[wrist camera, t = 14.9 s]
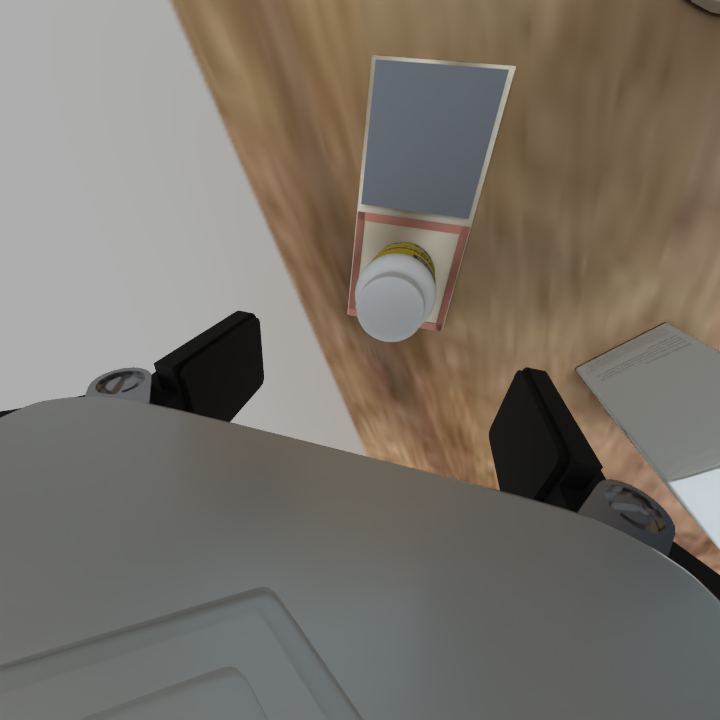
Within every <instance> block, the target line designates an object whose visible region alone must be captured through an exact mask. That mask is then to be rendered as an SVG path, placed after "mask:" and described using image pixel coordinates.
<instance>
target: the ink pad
mask: <svg viewBox="0 0 720 720" xmlns="http://www.w3.org/2000/svg"><path fill="white" fill-rule="evenodd" d="M508 72H509V70H508V69H495V68H482V67H469V66H456V65H443V64H430V63H418V62H405V61H392V60H379V59H376V61H375V71H374V81H373V91H372V101H371V111H370V121H369V131H368V141H367V151H366V161H365V171H364V181H363V191H362V201H361V204H364V205H372V206H379V207H386V208H393V209H401V210H408V211H415V212H423V213H430V214H437V215H444V216H452V217H459V218H466V219H469V216H470V212H471V208H472V205H473V201H474V197H475V194H476V190H477V186H478V183H479V179H480V175H481V171H482V168H483V164H484V160H485V157H486V153H487V149H488V146H489V142H490V138H491V135H492V131H493V127H494V123H495V120H496V116H497V112H498V109H499V105H500V101H501V98H502V94H503V90H504V86H505V83H506V79H507V75H508Z"/></svg>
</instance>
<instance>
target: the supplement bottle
mask: <svg viewBox="0 0 720 720" xmlns="http://www.w3.org/2000/svg"><path fill="white" fill-rule="evenodd" d="M355 301H356V311H357V317H358V320H359V322H360V324H361V326H362V328H363V329H364V330H365V331H366V332H367V333H368V334H369V335H371V336H372V337H374V338H376V339H378V340H380V341H385V342H398V341H401V340H404V339H407V338H408V337H410V336H412V335H413V334H414V333H415V332H416V331H417V330H418V329H419V327H420V326H421V325H422V324H423V323H424V322H425V321H426V320H427V319H428V318H429V316H430V314H431V312H432V310H433V308H434V305H435V301H436V278H435V268H434V264H433V261H432V259H431V257H430V256H429V254H428V253H427V252H426V251H425V250H424V249H423V248H422V247H420V246H419V245H417V244H414V243H411V242H396V243H393V244H390V245H388V246H387V247H385V248H384V249H382V250H381V251H380V252H379V253H378V254H377V255H376V256H375V257H374V258H373V260H372V261H371V262H370V263H369V264H368V265H367V266H366V267H365V268H364V270H363V271H362V273H361V274H360V276H359V278H358V281H357V284H356V289H355Z"/></svg>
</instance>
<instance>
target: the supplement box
mask: <svg viewBox="0 0 720 720" xmlns="http://www.w3.org/2000/svg"><path fill="white" fill-rule="evenodd" d="M576 371H577V372H578V374H579V375H580V376H581V378H582V379H583V380H584V381H585V383H586V384H587V385H588V387H589V388H590V389H591V391H592V392H593V393H594V395H595V396H596V397H597V399H598V400H599V401H600V403H601V404H602V405H603V407H604V408H605V409H606V411H607V412H608V413H609V414H610V416H611V417H612V418H613V420H614V421H615V422H616V423H617V425H618V426H619V427H620V429H621V430H622V431H623V433H624V434H625V435H626V436H627V438H628V439H629V440H630V441H631V443H632V444H633V445H634V446H635V448H636V449H637V450H638V451H639V453H640V454H641V455H642V456H643V458H644V459H645V460H646V461H647V463H648V464H649V465H650V466H651V468H652V469H653V470H654V472H655V473H656V474H657V475H658V477H659V478H660V479H661V480H662V482H663V483H664V484H665V485H666V486H667V488H668V489H669V490H670V491H671V493H672V494H673V495H674V496H675V498H676V499H677V500H678V501H679V502H680V504H681V505H682V506H683V507H684V509H685V510H686V511H687V512H688V513H689V515H690V516H691V517H692V518H693V519H694V521H695V522H696V523H697V524H698V525H699V526H700V528H701V529H702V530H703V531H704V532H705V533H706V535H707V536H708V537H709V538H710V539H711V540H712V541H713V543H714V544H715V545H716V546H717V547H718V548H719V549H720V352H719V351H717V350H715V349H713V348H711V347H710V346H708V345H706V344H704V343H702V342H701V341H699V340H697V339H695V338H693V337H692V336H690V335H688V334H686V333H685V332H683V331H681V330H679V329H677V328H675V327H674V326H672V325H670V324H669V323H664V324H662V325H660V326H658V327H656V328H654V329H652V330H650V331H648V332H646V333H644V334H642V335H640V336H638V337H636V338H634V339H632V340H630V341H628V342H626V343H624V344H622V345H620V346H618V347H616V348H614V349H612V350H610V351H608V352H606V353H605V354H603V355H601V356H599V357H597V358H595V359H593V360H591V361H589V362H587V363H585V364H583V365H581V366H580V367H578V368H577V369H576Z"/></svg>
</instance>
